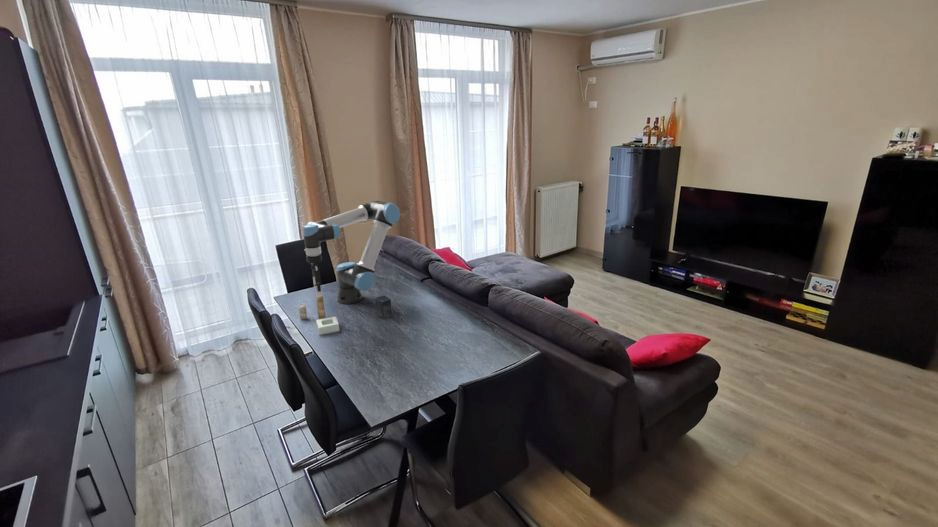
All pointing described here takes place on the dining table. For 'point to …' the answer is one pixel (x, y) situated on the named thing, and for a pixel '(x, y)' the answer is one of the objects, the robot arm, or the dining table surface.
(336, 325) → the hole block
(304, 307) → the short pin
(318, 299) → the long pin
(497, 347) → the dining table surface
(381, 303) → the box
